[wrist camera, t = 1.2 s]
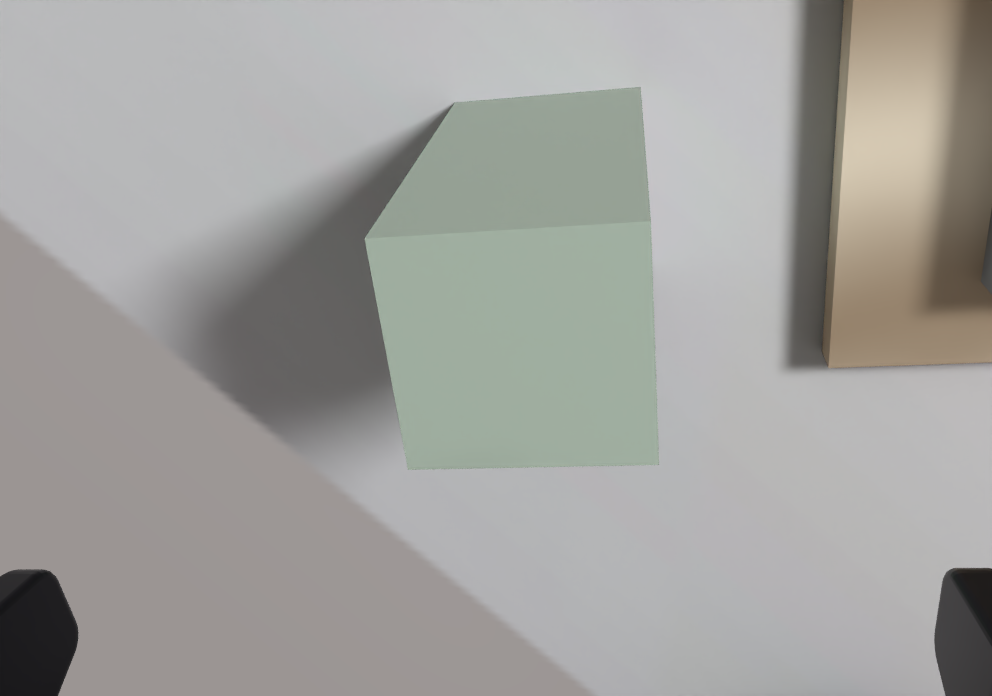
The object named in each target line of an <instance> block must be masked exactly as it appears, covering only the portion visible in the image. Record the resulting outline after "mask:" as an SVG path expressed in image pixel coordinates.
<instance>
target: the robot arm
mask: <svg viewBox="0 0 992 696" xmlns="http://www.w3.org/2000/svg"><path fill="white" fill-rule="evenodd" d="M77 642H78V627H77V623H76V621H75V618H74V616H73V614H72V611H71V609H70V607H69V604H68V602H67V600H66V598H65V595H64V593H63V591H62V588H61V586H60V584H59V581H58V580H57V578H56V576H55V575H53V574H52V573H51V572H50V571H47V570H13V571H10V572H8V573H6V574H4V575H2V576H0V696H58V694H59V691H60V689H61V686H62V684H63V681H64V679H65V676H66V674H67V671H68V669H69V666H70V664H71V661H72V658H73V656H74V653H75V651H76V647H77ZM934 643H935V653H936V659H937V663H938V667H939V671H940V675H941V679H942V683H943V687H944V691H945V695H946V696H992V569H990V568H953V569H951V570H949V571H947V572H946V574H945V576H944V578H943V582H942V588H941V594H940V601H939V608H938V614H937V621H936V628H935V638H934Z"/></svg>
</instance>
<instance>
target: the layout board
mask: <svg viewBox="0 0 992 696" xmlns="http://www.w3.org/2000/svg"><path fill="white" fill-rule="evenodd" d="M822 353H823V355H824V358H825V360H826V363H827V365H828V368H844V367H872V366H901V365H930V364H959V363H987V362H992V0H844V7H843V23H842V39H841V55H840V71H839V87H838V103H837V119H836V135H835V151H834V167H833V183H832V199H831V215H830V231H829V247H828V263H827V279H826V295H825V311H824V327H823V342H822Z"/></svg>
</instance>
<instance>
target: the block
mask: <svg viewBox="0 0 992 696" xmlns="http://www.w3.org/2000/svg"><path fill="white" fill-rule="evenodd" d="M365 244H366V249H367V255H368V260H369V265H370V270H371V276H372V281H373V286H374V292H375V297H376V302H377V308H378V313H379V318H380V323H381V329H382V334H383V339H384V345H385V350H386V355H387V361H388V366H389V371H390V377H391V382H392V387H393V392H394V398H395V403H396V408H397V414H398V419H399V424H400V430H401V435H402V440H403V446H404V451H405V456H406V461H407V467H408V470H420V469H472V468H523V467H574V466H625V465H659V452H658V422H657V392H656V362H655V332H654V302H653V272H652V242H651V217H650V204H649V191H648V178H647V165H646V151H645V138H644V125H643V112H642V99H641V87H636V88H624V89H612V90H600V91H588V92H576V93H564V94H552V95H540V96H529V97H517V98H505V99H493V100H481V101H469V102H457V103H454V105H453V106H452V108H451V109H450V111H449V112H448V114H447V115H446V117H445V118H444V120H443V121H442V123H441V124H440V126H439V127H438V129H437V130H436V132H435V133H434V135H433V136H432V138H431V139H430V141H429V142H428V144H427V145H426V147H425V148H424V150H423V151H422V153H421V154H420V156H419V157H418V159H417V160H416V162H415V163H414V165H413V166H412V168H411V169H410V171H409V172H408V174H407V175H406V177H405V178H404V180H403V181H402V183H401V184H400V186H399V187H398V189H397V190H396V192H395V193H394V195H393V196H392V198H391V199H390V201H389V202H388V204H387V205H386V207H385V209H384V210H383V212H382V213H381V215H380V216H379V218H378V219H377V221H376V222H375V224H374V225H373V227H372V228H371V230H370V231H369V233H368V234H367V236H366V237H365Z"/></svg>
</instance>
